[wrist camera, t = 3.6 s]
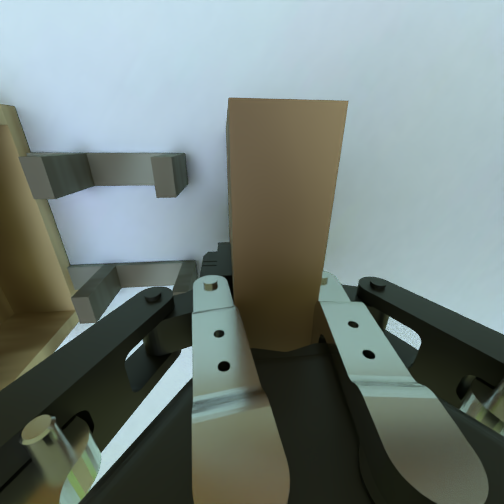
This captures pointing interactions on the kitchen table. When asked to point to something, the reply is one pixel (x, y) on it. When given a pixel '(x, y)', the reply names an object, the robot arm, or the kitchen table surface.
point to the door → (280, 211)
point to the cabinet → (51, 248)
